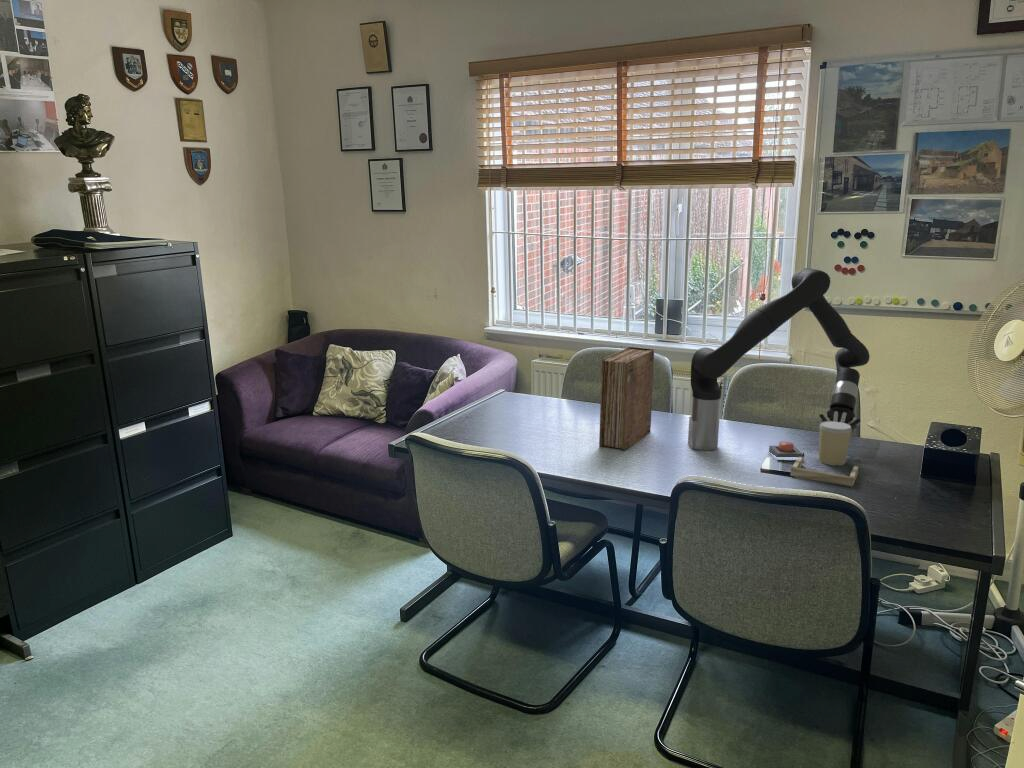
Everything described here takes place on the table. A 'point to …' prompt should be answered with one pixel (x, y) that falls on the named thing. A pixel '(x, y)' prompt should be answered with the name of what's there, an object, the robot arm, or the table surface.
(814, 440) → the table surface
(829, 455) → the coffee cup
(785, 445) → the button
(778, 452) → the button box
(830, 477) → the holder
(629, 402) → the brown plywood block
